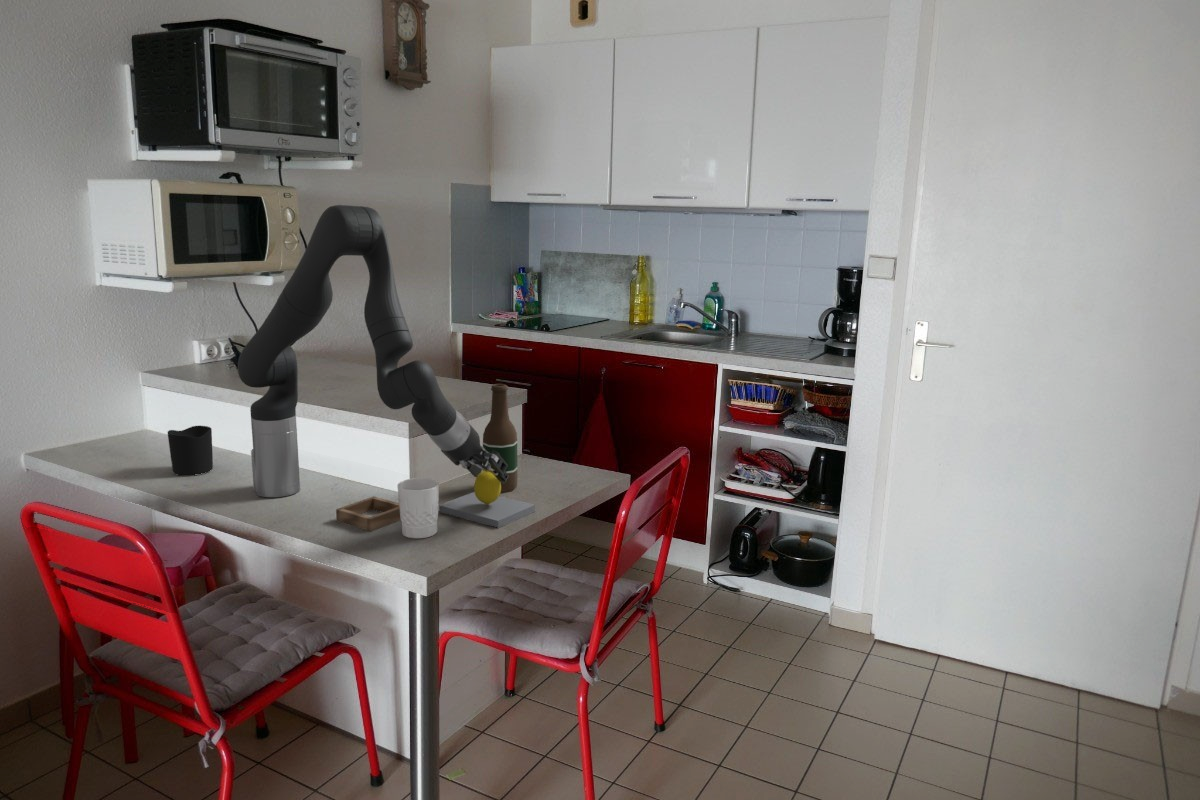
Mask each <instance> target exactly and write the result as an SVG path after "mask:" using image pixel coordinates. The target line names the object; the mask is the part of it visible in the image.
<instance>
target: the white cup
mask: <svg viewBox="0 0 1200 800" xmlns="http://www.w3.org/2000/svg"><path fill="white" fill-rule="evenodd" d="M439 493H440V482H439V481H438V480H437V479H433V478H427V477H413V478H408V479H403V480H402V481H400V482H398V483H397V495H398V503H399V508H400V519H401V520H400V522H401V530H402V535H403V536H405V537H406V538H409V539H426V538H429V537H432V536H435V535H436V534H437V532H438V518H439V505H440V504H439V502H440V500H439V498H440V496H439V495H440V494H439Z"/></svg>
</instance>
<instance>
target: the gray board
mask: <svg viewBox="0 0 1200 800" xmlns="http://www.w3.org/2000/svg"><path fill="white" fill-rule="evenodd" d="M535 512H536V504H533V503H530V502H524V501H521V500H517V499H512V498H508V497H504V496H500V495H499V497H498V498H497V500H495V501H494V502H492V503H490V504H489V505H485V504H484V503H483V502H481V501H479V500H478V499H477V497H476V495H475V491H472V492H470V493H468V494H465V495H462V496H460V497H457V498H454V499H452V500H449V501H447V502H444V503H441V504H439V507H438V513H441V514H445V515H448V514H449V516H452V515H453V516H452V517H457V518H459V517H460V518H461V519H463V518H464V520H467V521H472V522H474V521H475V523H478V524H481V525H482V524H483V525H485V524H486V525H485V526H489V525H490V526H489V527H493V526H494V527H493V528H496V527H497V528H496V529H499V527H500V528H502V527H503V526H506V525H509V524H511V523H513V522H515V521H517V520H520V519H522V518H524V517H526V516H528V515H530V514H533V513H535ZM460 518H459V519H460Z"/></svg>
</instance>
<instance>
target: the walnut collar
mask: <svg viewBox="0 0 1200 800" xmlns="http://www.w3.org/2000/svg"><path fill="white" fill-rule="evenodd" d="M376 510H377V512H380V511H381V512H380V513H378V514H375V515H372V516H369V515H366V513H369V512H371V511H376ZM335 514H336V518H335V519H336V522H338V521H339V523H341V524H345V525H348V524H349V526H352V527H355V528H358V529H362V530H365V531H369V532H374V531H376V530H378V529H381V528H384V527H386V526H389V525H391V523H392V524H394V523H396V522H399V521H401V519H400V508H399V502H396V501H393V500H388V499H384V498H383V497H382V498H381V497H377V496H374V495H373V496H371V497H368V498H364V499H361V500H358V501H356V502H353V503H350V504H348V505H345V506H342V507H341V506H340V507H339V508H336V509H335Z"/></svg>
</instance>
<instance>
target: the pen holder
mask: <svg viewBox="0 0 1200 800" xmlns="http://www.w3.org/2000/svg"><path fill="white" fill-rule="evenodd" d="M212 430H213V429H212V427H210V426H207V425H193V426H190V427H187V428H185V429H182V430H177V429H176V430H175V429H169V430H167V433H166V434H167V439H168V446H169V453H170V461H171V468H172V469H171V470H172V472H173V473H174V475H176V474H178V475H177V476H180V475H194V476H196V475H195V474H201V473H205V472H208V471H210V470H211V471H212V470H213V468H214V465H213V464H214V462H213V461H214V460H213V459H214V458H213V457H214V456H213V436H212ZM211 471H210V472H211ZM208 473H209V472H208ZM205 474H206V473H205ZM201 475H202V474H201Z"/></svg>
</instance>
